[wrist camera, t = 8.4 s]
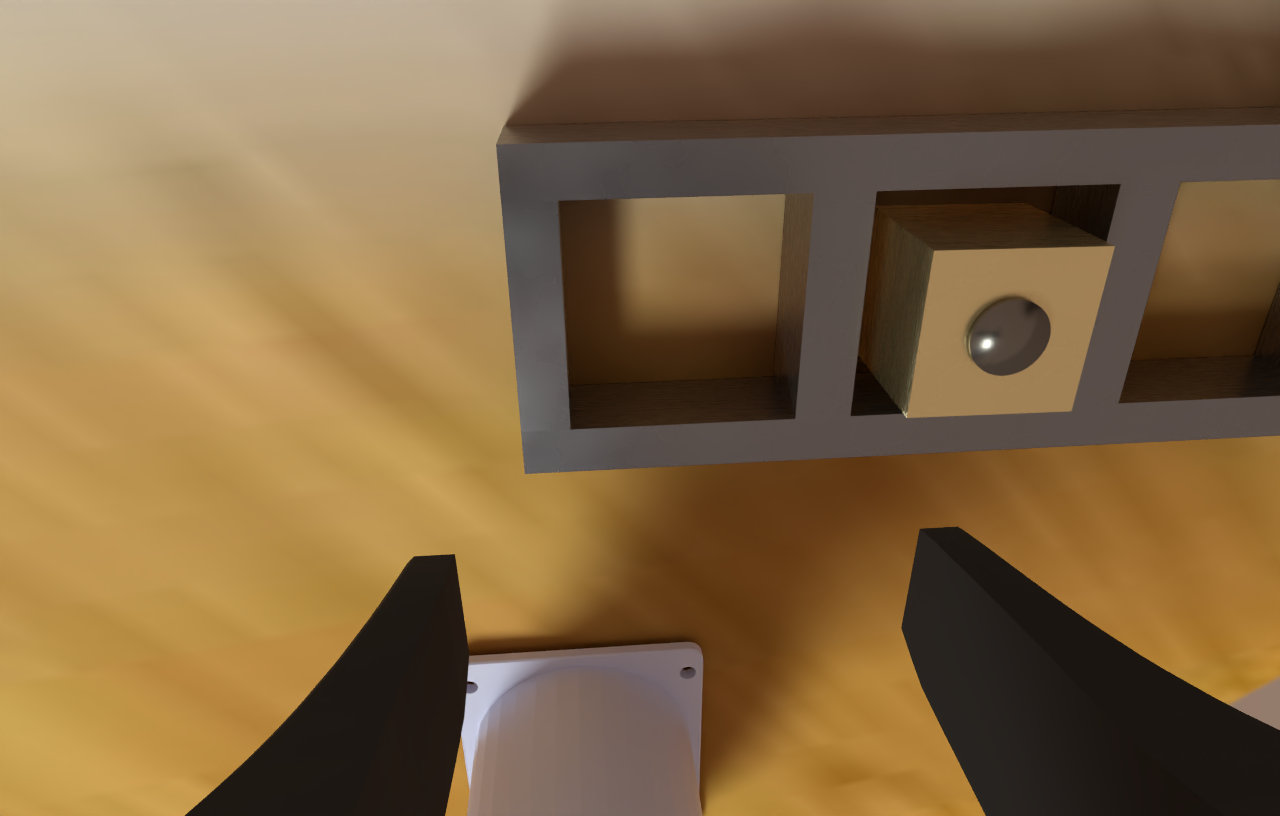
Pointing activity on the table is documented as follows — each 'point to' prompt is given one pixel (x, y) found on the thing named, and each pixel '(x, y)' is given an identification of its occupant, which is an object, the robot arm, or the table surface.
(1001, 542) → the table surface
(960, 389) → the drawer with knob
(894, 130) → the grey flat rectangular frame
